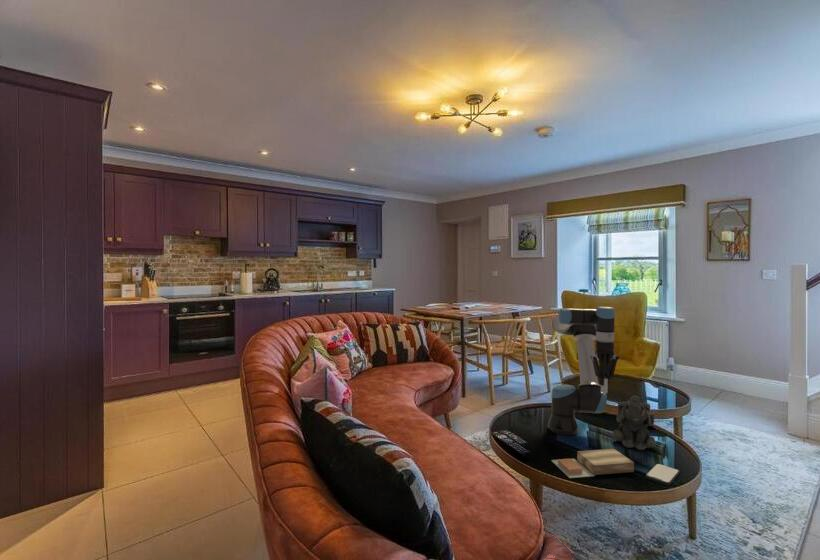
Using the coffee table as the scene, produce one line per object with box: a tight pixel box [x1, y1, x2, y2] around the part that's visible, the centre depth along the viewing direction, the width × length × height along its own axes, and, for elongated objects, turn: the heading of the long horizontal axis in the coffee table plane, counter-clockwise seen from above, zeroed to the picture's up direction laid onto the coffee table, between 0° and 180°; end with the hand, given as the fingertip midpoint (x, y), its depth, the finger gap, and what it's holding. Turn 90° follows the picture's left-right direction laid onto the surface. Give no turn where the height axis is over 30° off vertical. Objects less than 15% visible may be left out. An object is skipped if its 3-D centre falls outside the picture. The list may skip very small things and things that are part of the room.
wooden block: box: [576, 448, 635, 476], centre depth 173 cm, size 13×18×4 cm
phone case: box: [645, 463, 680, 486], centre depth 166 cm, size 9×2×16 cm
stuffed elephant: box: [611, 395, 656, 451], centre depth 195 cm, size 19×21×27 cm
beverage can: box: [647, 414, 655, 427], centre depth 215 cm, size 9×8×12 cm
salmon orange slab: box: [557, 458, 583, 474], centre depth 170 cm, size 9×6×2 cm, turn 9°
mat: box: [551, 458, 595, 479], centre depth 171 cm, size 15×11×1 cm
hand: (604, 392), depth 182 cm, fingers closed
